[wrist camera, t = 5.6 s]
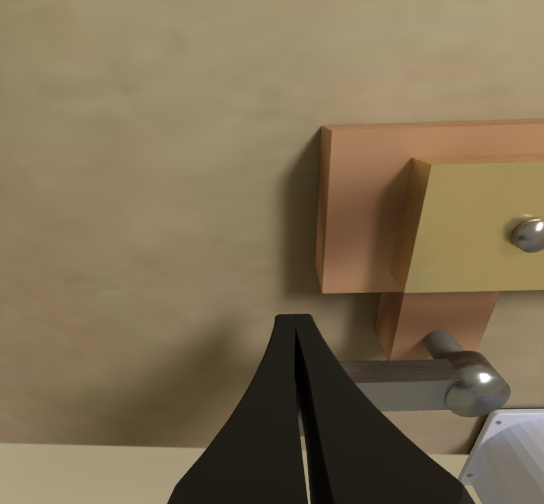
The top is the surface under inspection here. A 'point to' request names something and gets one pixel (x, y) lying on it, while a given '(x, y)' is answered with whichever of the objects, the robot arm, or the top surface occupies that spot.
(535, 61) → the top surface
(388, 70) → the top surface
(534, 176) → the wooden block with bolt
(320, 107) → the top surface
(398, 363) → the lever
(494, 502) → the robot arm
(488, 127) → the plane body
